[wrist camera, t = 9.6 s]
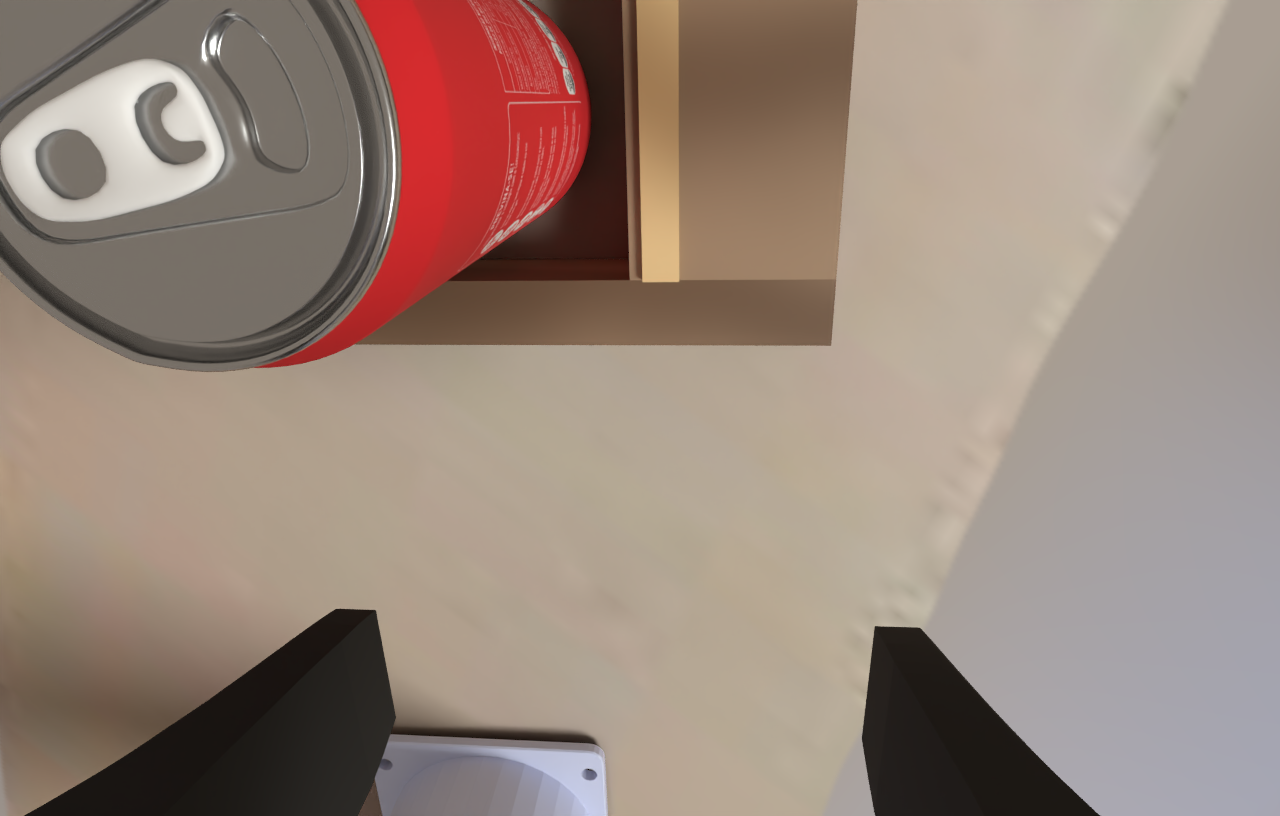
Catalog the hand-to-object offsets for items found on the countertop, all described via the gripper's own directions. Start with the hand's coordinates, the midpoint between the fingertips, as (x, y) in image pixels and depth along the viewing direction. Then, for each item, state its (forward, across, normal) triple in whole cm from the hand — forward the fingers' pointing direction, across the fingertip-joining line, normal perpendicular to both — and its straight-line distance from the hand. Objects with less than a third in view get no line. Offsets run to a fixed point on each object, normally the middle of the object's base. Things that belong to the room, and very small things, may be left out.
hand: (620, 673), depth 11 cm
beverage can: (+11, +4, -8) cm, 14 cm away
